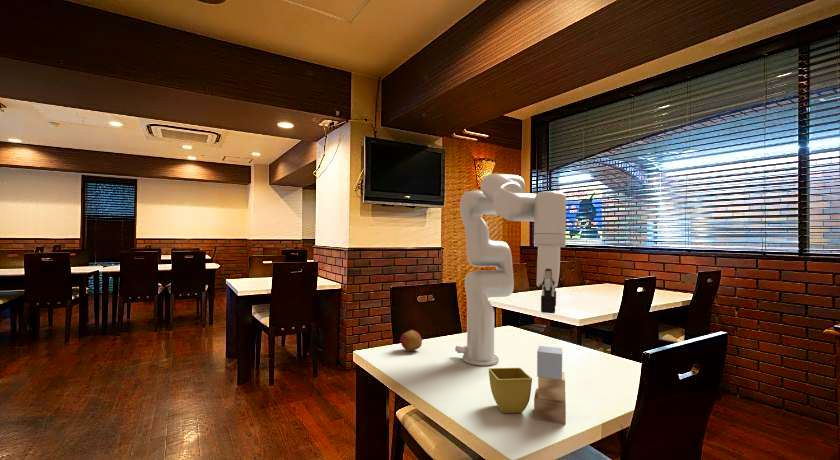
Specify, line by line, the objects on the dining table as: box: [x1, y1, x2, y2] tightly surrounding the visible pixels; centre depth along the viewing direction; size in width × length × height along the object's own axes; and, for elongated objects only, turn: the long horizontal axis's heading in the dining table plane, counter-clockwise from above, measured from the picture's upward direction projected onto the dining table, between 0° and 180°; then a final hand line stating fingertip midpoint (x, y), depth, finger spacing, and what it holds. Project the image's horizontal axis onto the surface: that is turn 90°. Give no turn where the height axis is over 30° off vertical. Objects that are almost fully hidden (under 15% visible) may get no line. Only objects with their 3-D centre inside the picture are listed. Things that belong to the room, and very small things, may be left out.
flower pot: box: [488, 367, 533, 414], centre depth 98 cm, size 9×9×9 cm
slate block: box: [536, 345, 563, 380], centre depth 94 cm, size 6×6×6 cm
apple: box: [399, 329, 423, 352], centre depth 148 cm, size 8×8×8 cm
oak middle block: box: [537, 371, 566, 402], centre depth 94 cm, size 6×6×5 cm
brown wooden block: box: [533, 387, 567, 425], centre depth 94 cm, size 7×7×5 cm
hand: (548, 309), depth 97 cm, fingers open, 9 cm apart
